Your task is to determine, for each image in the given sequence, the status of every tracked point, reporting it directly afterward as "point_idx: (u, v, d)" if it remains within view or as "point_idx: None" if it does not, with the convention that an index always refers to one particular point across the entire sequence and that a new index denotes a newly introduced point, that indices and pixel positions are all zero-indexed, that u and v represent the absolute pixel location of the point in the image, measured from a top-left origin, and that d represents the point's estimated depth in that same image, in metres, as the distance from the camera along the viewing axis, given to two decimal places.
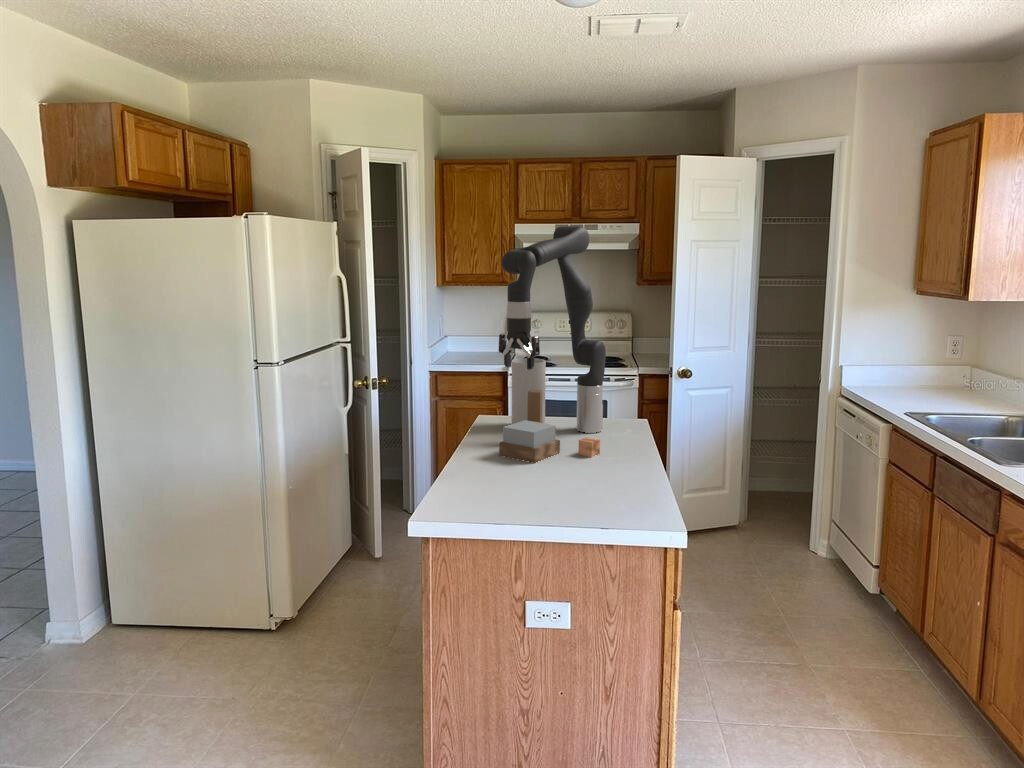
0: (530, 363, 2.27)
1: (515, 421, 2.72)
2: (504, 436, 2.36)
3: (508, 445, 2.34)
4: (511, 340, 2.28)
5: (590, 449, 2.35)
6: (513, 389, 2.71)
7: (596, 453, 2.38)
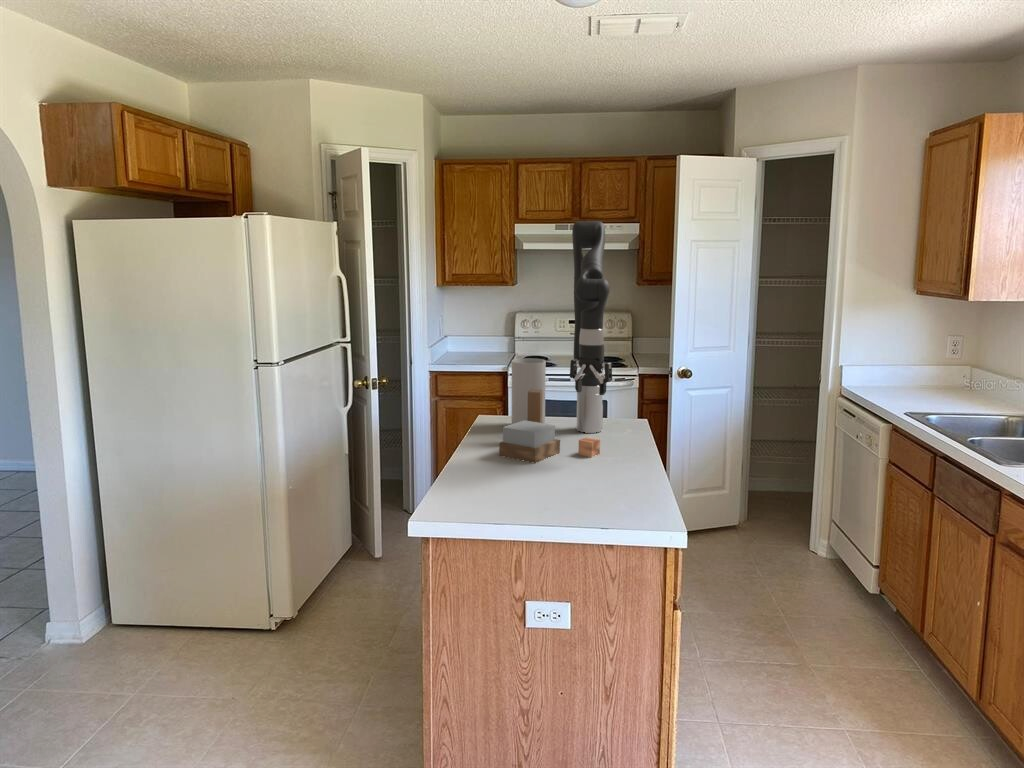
0: (603, 389, 2.31)
1: (515, 421, 2.72)
2: (503, 436, 2.36)
3: (508, 445, 2.34)
4: (583, 366, 2.33)
5: (590, 449, 2.35)
6: (513, 389, 2.71)
7: (596, 453, 2.38)
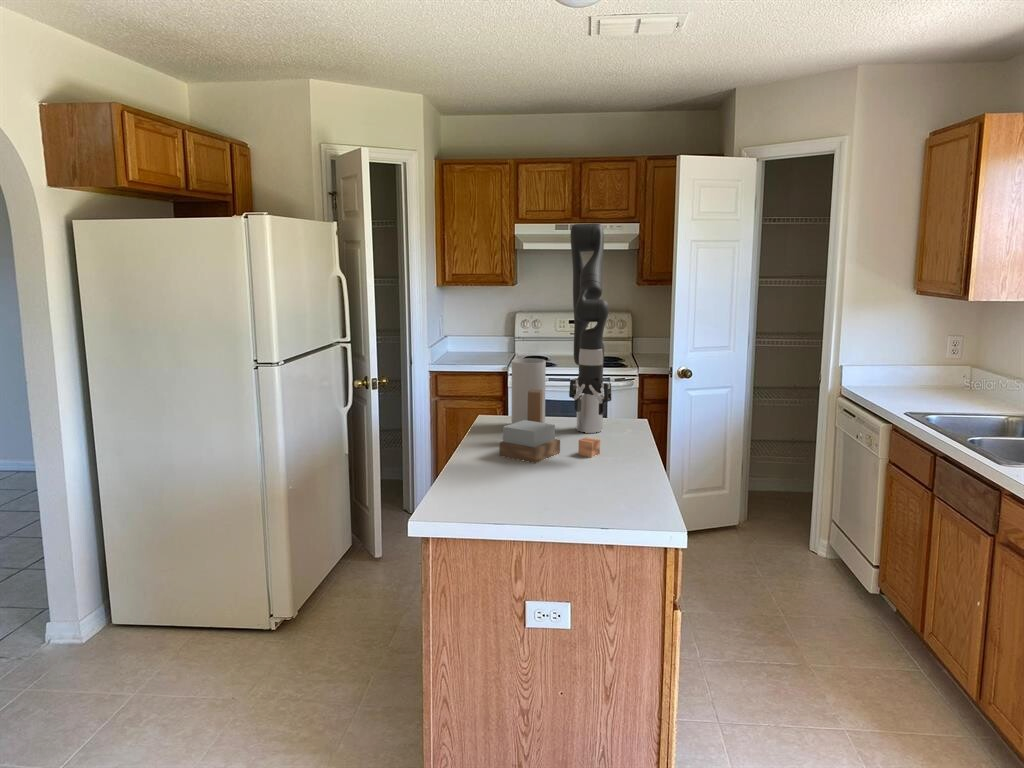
0: (602, 409, 2.32)
1: (515, 421, 2.72)
2: (503, 436, 2.36)
3: (508, 445, 2.34)
4: (583, 386, 2.34)
5: (590, 449, 2.35)
6: (513, 389, 2.71)
7: (596, 453, 2.38)
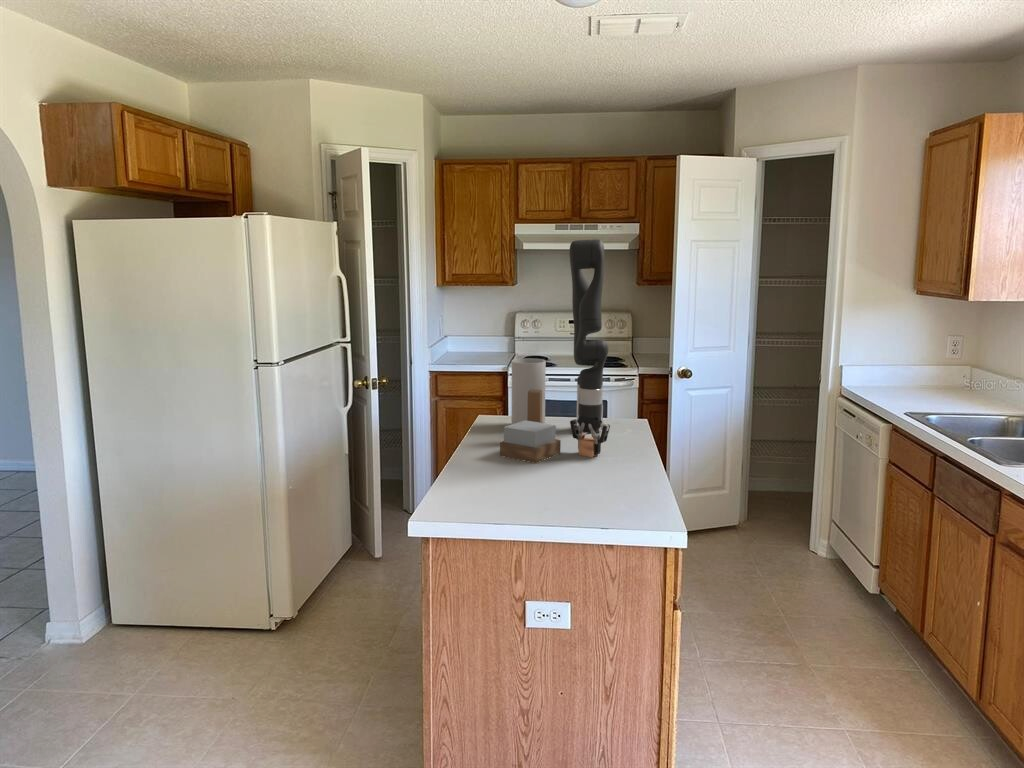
0: (597, 449, 2.36)
1: (515, 421, 2.72)
2: (504, 436, 2.35)
3: (508, 445, 2.34)
4: (583, 425, 2.36)
5: (590, 449, 2.35)
6: (513, 389, 2.71)
7: None
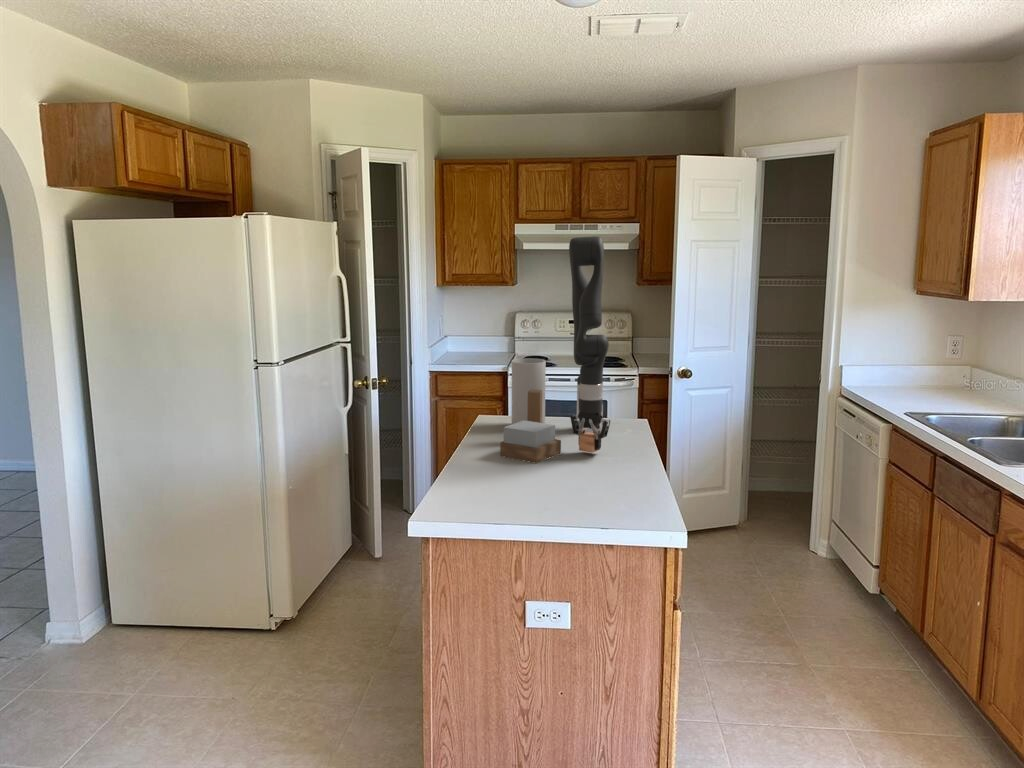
0: (598, 444, 2.36)
1: (515, 421, 2.72)
2: (504, 436, 2.35)
3: (509, 445, 2.34)
4: (583, 420, 2.36)
5: (590, 444, 2.35)
6: (513, 389, 2.71)
7: None
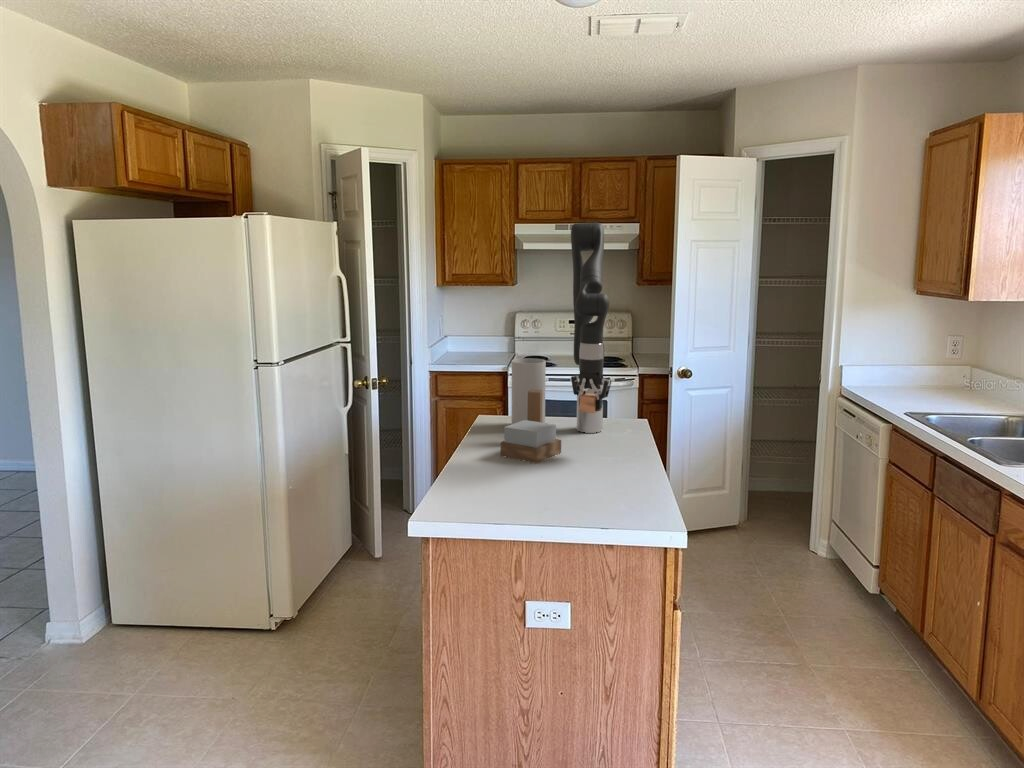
0: (598, 405, 2.33)
1: (515, 421, 2.72)
2: (505, 436, 2.35)
3: (509, 445, 2.34)
4: (584, 380, 2.34)
5: (591, 404, 2.33)
6: (513, 389, 2.71)
7: None
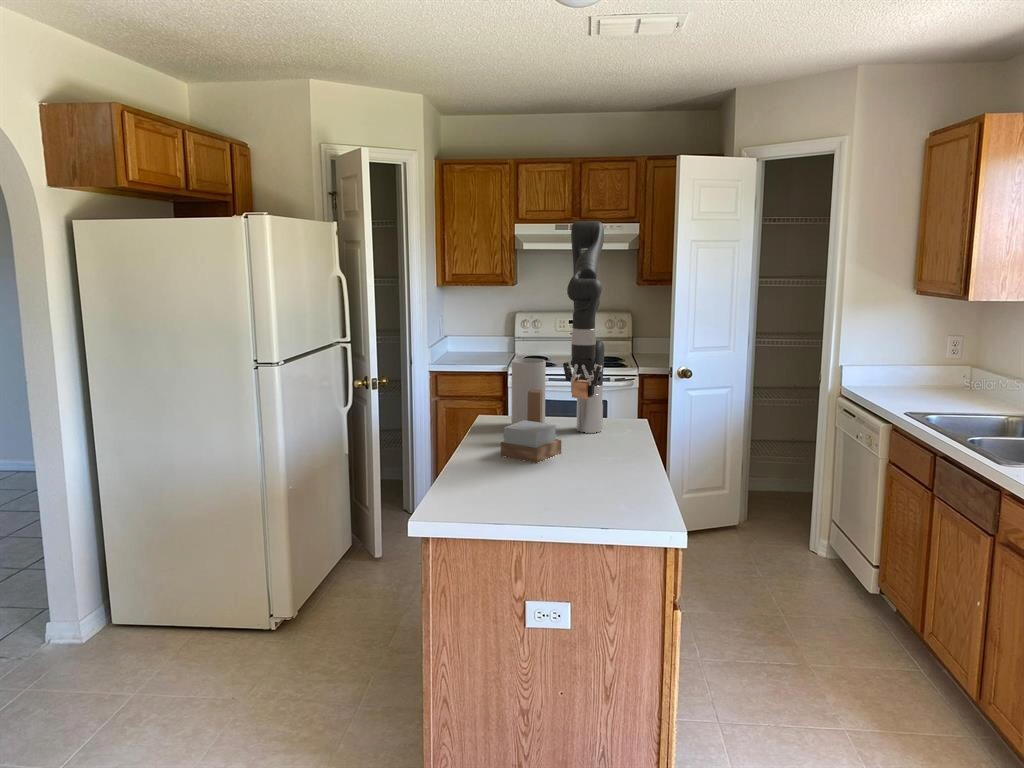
0: (591, 391, 2.32)
1: (515, 421, 2.72)
2: (504, 437, 2.35)
3: (509, 445, 2.34)
4: (576, 366, 2.33)
5: (583, 390, 2.32)
6: (513, 389, 2.71)
7: None
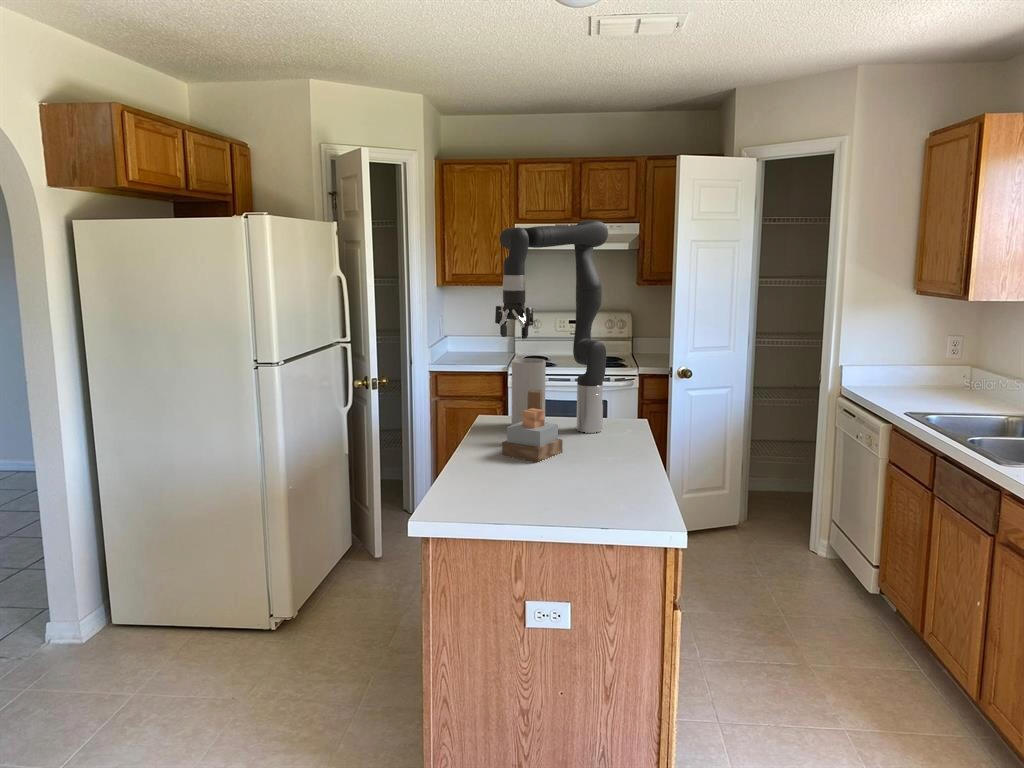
0: (524, 332, 2.44)
1: (515, 421, 2.72)
2: (508, 436, 2.36)
3: (511, 444, 2.35)
4: (507, 311, 2.46)
5: (532, 419, 2.34)
6: (513, 389, 2.71)
7: (540, 424, 2.36)
